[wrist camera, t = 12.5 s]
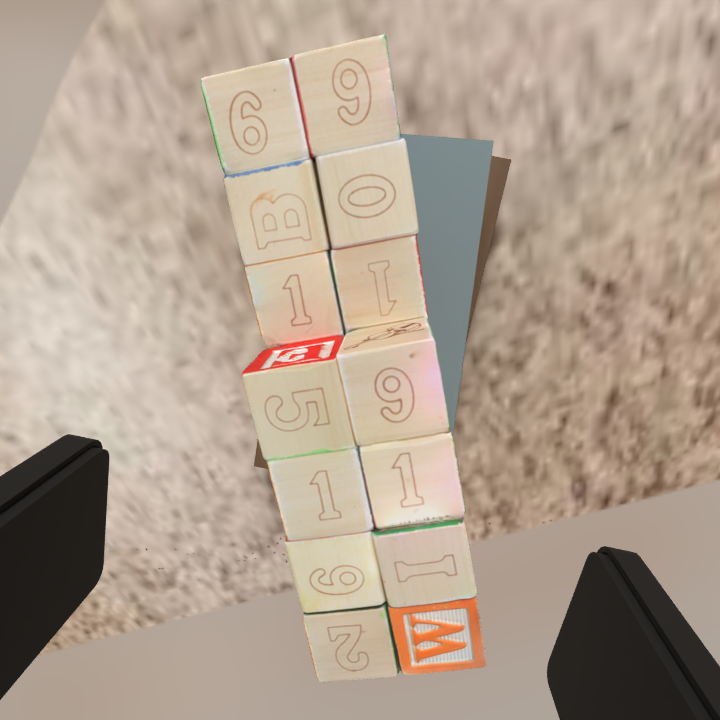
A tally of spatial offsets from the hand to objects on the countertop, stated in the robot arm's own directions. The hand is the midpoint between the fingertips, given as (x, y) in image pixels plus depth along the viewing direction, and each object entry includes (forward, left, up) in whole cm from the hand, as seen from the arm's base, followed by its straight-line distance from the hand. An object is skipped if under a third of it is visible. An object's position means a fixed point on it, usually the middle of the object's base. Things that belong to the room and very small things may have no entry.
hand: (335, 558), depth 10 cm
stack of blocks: (0, -1, -19) cm, 19 cm away
